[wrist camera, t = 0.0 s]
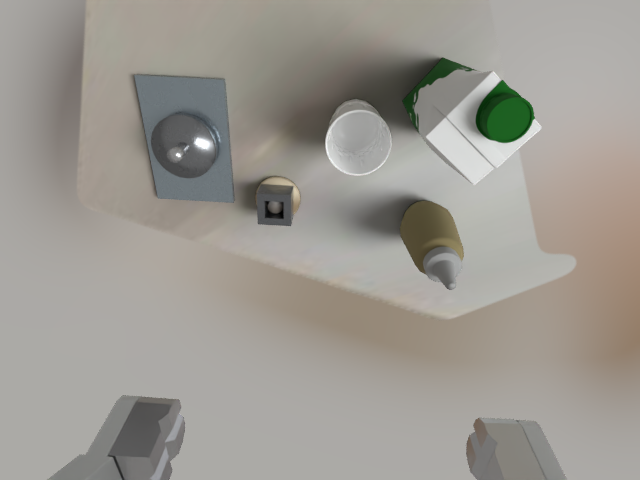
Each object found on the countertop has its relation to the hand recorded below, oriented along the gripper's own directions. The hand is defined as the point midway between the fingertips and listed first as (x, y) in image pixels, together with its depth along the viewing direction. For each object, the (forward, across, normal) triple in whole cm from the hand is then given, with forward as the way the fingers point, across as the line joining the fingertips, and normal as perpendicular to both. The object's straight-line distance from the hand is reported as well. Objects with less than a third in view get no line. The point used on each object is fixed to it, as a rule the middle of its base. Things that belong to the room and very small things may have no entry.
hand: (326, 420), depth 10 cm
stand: (+48, +8, +15) cm, 51 cm away
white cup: (+48, -3, +3) cm, 48 cm away
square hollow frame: (+47, +8, +15) cm, 50 cm away
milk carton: (+48, -14, -1) cm, 50 cm away
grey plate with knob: (+48, +21, +7) cm, 53 cm away
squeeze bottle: (+48, -15, +17) cm, 53 cm away
